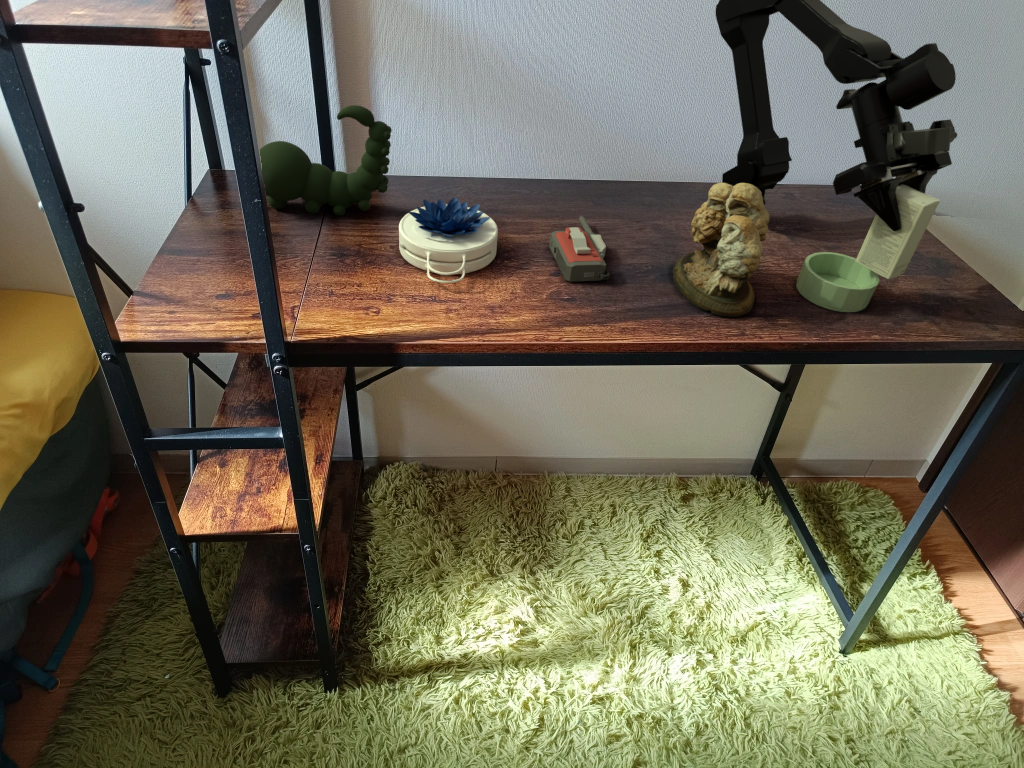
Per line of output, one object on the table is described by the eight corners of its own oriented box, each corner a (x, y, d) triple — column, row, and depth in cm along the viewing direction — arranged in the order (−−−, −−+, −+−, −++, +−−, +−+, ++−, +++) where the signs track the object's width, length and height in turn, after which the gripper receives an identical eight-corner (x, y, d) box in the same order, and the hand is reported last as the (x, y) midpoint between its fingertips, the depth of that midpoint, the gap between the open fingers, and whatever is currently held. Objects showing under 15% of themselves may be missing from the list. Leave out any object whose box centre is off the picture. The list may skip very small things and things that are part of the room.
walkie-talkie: (620, 285, 108) (585, 224, 123) (625, 260, 105) (589, 201, 120) (566, 287, 106) (537, 225, 121) (569, 261, 103) (540, 201, 118)
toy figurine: (387, 207, 125) (242, 189, 121) (394, 101, 113) (233, 77, 109) (384, 232, 118) (230, 214, 114) (391, 121, 106) (219, 97, 102)
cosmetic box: (904, 274, 106) (943, 200, 99) (887, 281, 104) (926, 206, 96) (868, 255, 110) (903, 183, 102) (852, 261, 108) (886, 188, 100)
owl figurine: (655, 258, 115) (679, 158, 104) (720, 256, 118) (751, 158, 107) (697, 320, 102) (730, 213, 91) (770, 316, 104) (810, 212, 93)
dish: (796, 302, 108) (806, 279, 105) (795, 268, 117) (804, 246, 114) (871, 319, 106) (883, 295, 103) (865, 283, 115) (875, 261, 112)
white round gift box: (404, 185, 113) (388, 245, 98) (499, 192, 114) (498, 252, 99) (405, 224, 118) (390, 287, 102) (496, 230, 118) (495, 293, 103)
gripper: (886, 104, 90) (918, 220, 90) (973, 93, 98) (1002, 199, 98) (818, 140, 100) (846, 244, 101) (901, 127, 108) (928, 224, 108)
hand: (907, 227), depth 101 cm, fingers closed on cosmetic box, 4 cm apart
